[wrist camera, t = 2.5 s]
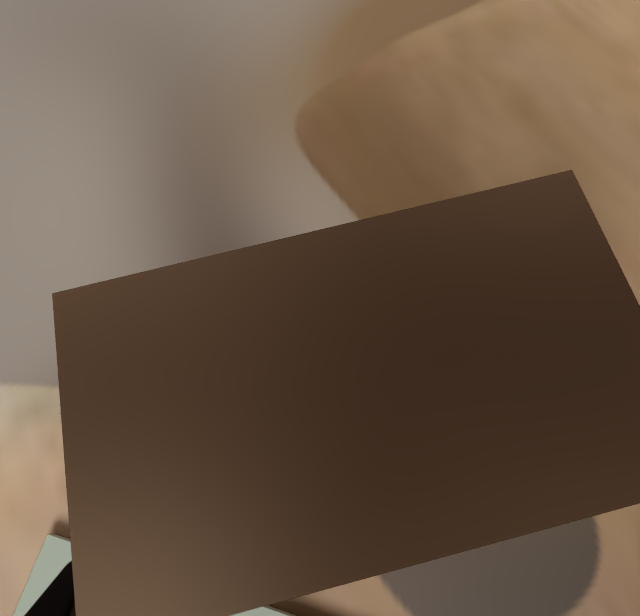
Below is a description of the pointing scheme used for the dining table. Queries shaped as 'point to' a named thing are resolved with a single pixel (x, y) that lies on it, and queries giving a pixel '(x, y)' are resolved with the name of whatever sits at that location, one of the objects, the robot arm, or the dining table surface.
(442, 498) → the brown wooden block
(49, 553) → the mat
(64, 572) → the robot arm
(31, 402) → the dining table surface
